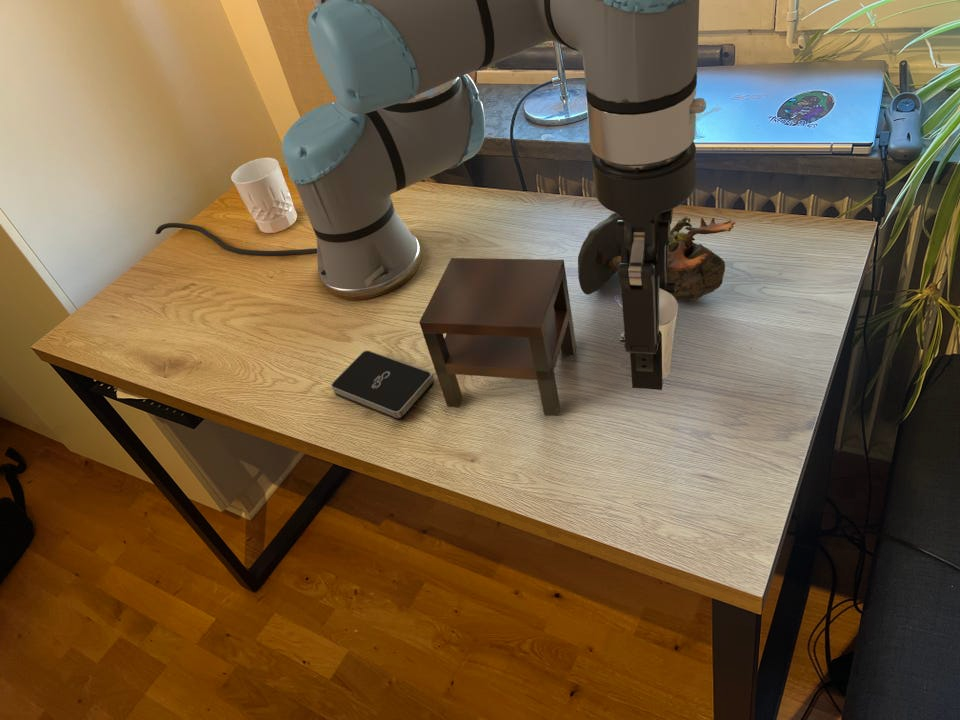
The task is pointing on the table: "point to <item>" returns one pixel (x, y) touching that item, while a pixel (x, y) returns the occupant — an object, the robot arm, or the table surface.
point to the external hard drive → (383, 384)
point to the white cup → (265, 194)
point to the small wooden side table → (500, 323)
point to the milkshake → (666, 326)
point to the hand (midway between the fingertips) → (650, 367)
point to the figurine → (687, 260)
